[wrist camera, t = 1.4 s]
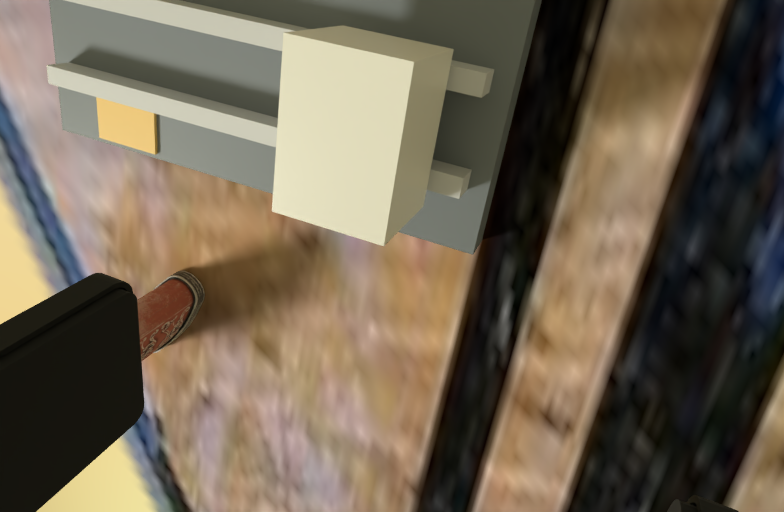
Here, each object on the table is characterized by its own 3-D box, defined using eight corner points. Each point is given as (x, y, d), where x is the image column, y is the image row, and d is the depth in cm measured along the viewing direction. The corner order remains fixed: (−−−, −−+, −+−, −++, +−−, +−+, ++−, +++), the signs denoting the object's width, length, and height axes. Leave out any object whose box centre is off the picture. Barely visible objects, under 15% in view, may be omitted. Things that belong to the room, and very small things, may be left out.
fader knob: (463, 46, 25) (414, 61, 20) (433, 196, 29) (383, 246, 23) (357, 23, 27) (283, 32, 21) (339, 170, 30) (271, 211, 24)
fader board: (543, -7, 26) (531, -6, 23) (481, 240, 31) (465, 266, 28) (70, -93, 32) (12, -102, 29) (88, 123, 38) (41, 135, 35)
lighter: (178, 259, 39) (51, 334, 31) (214, 295, 40) (98, 379, 31) (131, 323, 44) (8, 404, 35) (164, 356, 44) (49, 444, 35)
